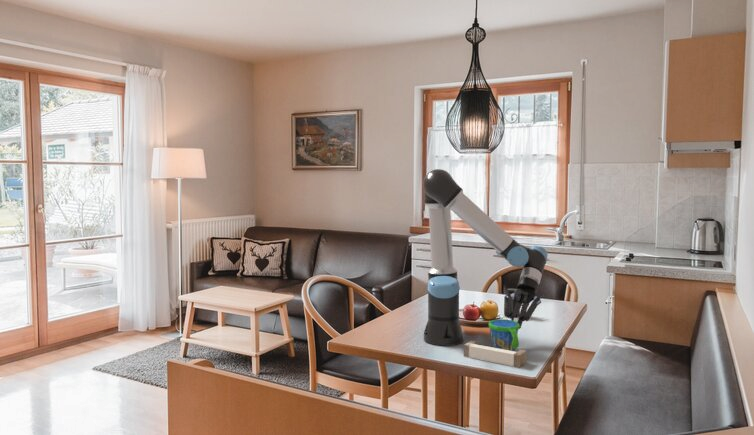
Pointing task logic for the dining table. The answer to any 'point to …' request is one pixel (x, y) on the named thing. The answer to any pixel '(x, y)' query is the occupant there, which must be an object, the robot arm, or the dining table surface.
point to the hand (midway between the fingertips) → (512, 335)
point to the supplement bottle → (507, 302)
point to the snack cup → (504, 334)
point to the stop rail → (495, 354)
